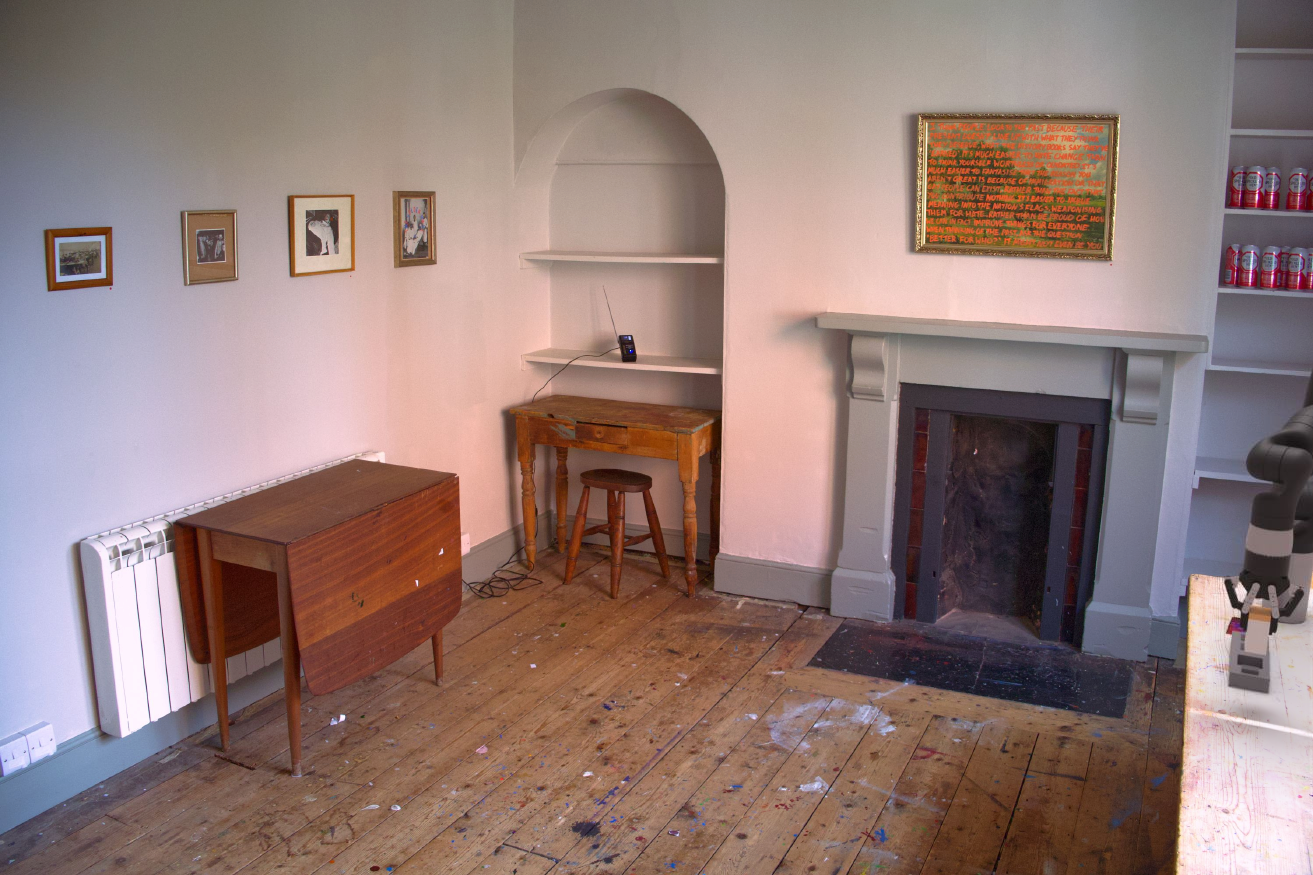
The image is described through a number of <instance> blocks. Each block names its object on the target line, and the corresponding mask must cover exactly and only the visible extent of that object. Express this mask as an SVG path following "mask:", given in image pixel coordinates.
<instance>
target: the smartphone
mask: <svg viewBox="0 0 1313 875" xmlns="http://www.w3.org/2000/svg"><path fill="white" fill-rule="evenodd" d="M1232 631H1237V632H1243V633H1246V631H1243V628H1241V627H1240V617H1238V616H1232V617H1231V619H1230V622H1229V623H1228V625H1227V628H1226V632H1225V635H1230V636H1232Z"/></svg>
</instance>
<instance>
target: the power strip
mask: <svg viewBox="0 0 1313 875" xmlns="http://www.w3.org/2000/svg"><path fill="white" fill-rule="evenodd" d="M1245 636H1246V633H1243V632H1237V631H1232V635H1231V637H1230V650H1229V651H1230V652H1229V667H1228V669H1229V670H1228V687H1233V688H1238V689H1244V690H1250V691H1254V692H1260V693H1265V694H1268V693H1269V690H1270V689H1269V688H1270V681H1271V675H1270V674H1271V673H1270V671H1271V670H1270V669H1271V668H1270V666H1271V665H1270V637H1269V636H1268V644H1267V651H1266V655H1261V654H1256V653H1250V652H1244V651H1245Z"/></svg>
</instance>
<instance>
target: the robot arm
mask: <svg viewBox="0 0 1313 875" xmlns="http://www.w3.org/2000/svg"><path fill="white" fill-rule="evenodd" d="M1305 391H1306V392H1305V394H1304V400H1303V404H1302V408H1301V409H1299V410H1298V411H1296V412H1295V413H1294V414H1293V415H1291V417H1290V418H1289V419H1288V421H1287V422H1286V423H1285V424H1284V425H1283V427H1282V428H1281V429H1280V430H1278V431H1275V432H1274V433H1272V434H1270V435H1268V436H1266V437H1264V438H1263V439H1261V440H1259V441H1258V442H1257V443H1256V444H1254V446H1252V448H1251V450H1250V451H1249V452H1248V454H1247V456H1246V460H1245V467H1246V470H1247V472H1248V474H1249V475H1250V476H1251V477H1253V478H1254V479H1257V480H1258V481H1259V480H1260V481H1265V482H1269V483H1272V484H1271V485H1270V488H1269V491H1266V492H1260V493H1257V494H1255V495H1254V498H1253V501H1252V505H1251V506H1252V507H1251V515H1250V521H1249V526H1248V530H1247V534H1246V539H1245V550H1244V556H1243V557H1244V558H1243V566H1242V567H1243V568H1242V570H1241V571H1240V573H1239V575H1235V576H1230V575H1226V576H1224V580H1223V583H1224V587H1225V590H1226V594H1227V596H1228V600H1229V603H1230V606H1231V608H1232V609H1234V610H1235V609H1236V610H1238V611H1240V617H1239V618H1240V627H1241V628H1243V631H1247V626H1248V618H1249V609H1250V607H1251V605H1253V604H1254V601H1255V599H1256V600H1257V599H1258V600H1259V599H1260V600H1261V599H1262V600H1261V606H1260V607H1266V608H1271V621H1270V629H1269V636H1271V637H1272V636H1273V634H1276V633H1277V631H1278V625H1279V622H1281V623H1286V624H1287V623H1289V624H1299V623H1304V622H1305V621H1306V620H1307V613H1308V606H1309V602H1310V601H1309V599H1310V592H1311V586H1312V579H1313V480H1309V478H1311V477H1312V476H1313V368H1312V370H1311V373H1310V375H1309V380H1308V383H1307V387H1306V390H1305ZM1295 521H1299V522H1298V523H1295ZM1294 523H1295V524H1294ZM1239 583H1240V584H1241V586H1242V587H1243V588H1244V590H1245V591H1246V594H1245V597H1244V599H1243V601H1240V600H1239V599H1238V598H1239V597H1238V595H1237V592H1236V589H1237V588H1238V584H1239Z"/></svg>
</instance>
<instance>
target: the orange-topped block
mask: <svg viewBox="0 0 1313 875" xmlns="http://www.w3.org/2000/svg"><path fill="white" fill-rule="evenodd" d="M1270 621H1271V608H1266V607H1261V606H1259V605H1253V604H1252V605H1251V607H1250V609H1249V618H1248V626H1247V631H1246V636H1245V651H1244V652H1250V653H1256V654H1261V655H1266V651H1267V644H1268V637H1269V636H1270V635H1269V629H1270Z"/></svg>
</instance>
